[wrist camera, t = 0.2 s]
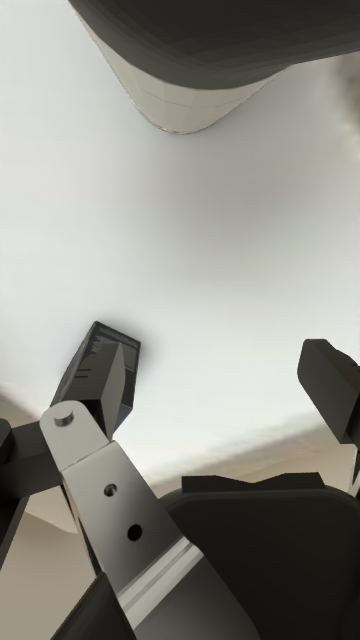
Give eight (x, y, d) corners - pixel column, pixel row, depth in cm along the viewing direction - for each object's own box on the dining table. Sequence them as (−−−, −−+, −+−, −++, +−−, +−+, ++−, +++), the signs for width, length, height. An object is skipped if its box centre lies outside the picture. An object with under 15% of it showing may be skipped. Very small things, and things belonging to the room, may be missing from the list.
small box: (107, 396, 38) (87, 471, 29) (61, 378, 36) (25, 452, 27) (144, 343, 33) (135, 412, 24) (94, 319, 31) (64, 384, 22)
